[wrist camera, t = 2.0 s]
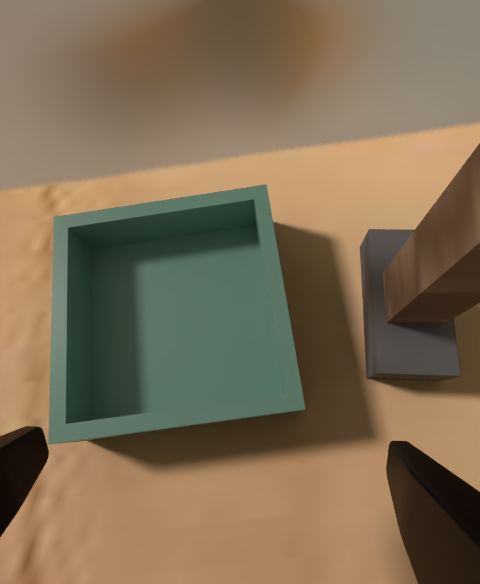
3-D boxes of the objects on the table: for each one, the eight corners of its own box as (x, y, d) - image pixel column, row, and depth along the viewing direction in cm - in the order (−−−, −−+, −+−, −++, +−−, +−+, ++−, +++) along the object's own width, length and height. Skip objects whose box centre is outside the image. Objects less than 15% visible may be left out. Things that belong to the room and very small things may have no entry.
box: (267, 219, 26) (266, 184, 22) (299, 411, 22) (305, 409, 18) (85, 246, 26) (54, 216, 22) (86, 440, 22) (48, 444, 18)
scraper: (440, 380, 22) (658, 327, 10) (366, 378, 22) (485, 322, 10) (426, 247, 24) (585, 70, 12) (359, 247, 25) (448, 73, 12)
